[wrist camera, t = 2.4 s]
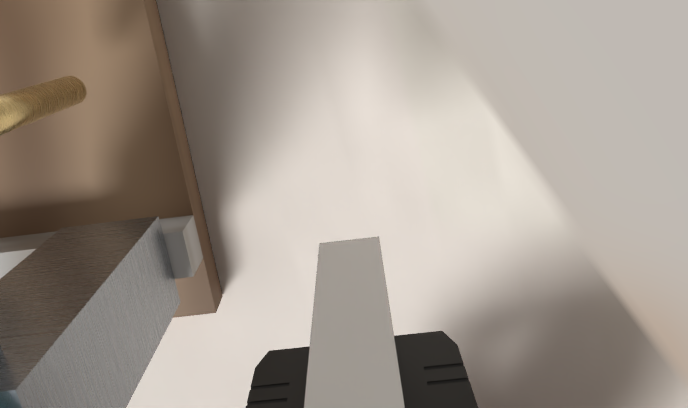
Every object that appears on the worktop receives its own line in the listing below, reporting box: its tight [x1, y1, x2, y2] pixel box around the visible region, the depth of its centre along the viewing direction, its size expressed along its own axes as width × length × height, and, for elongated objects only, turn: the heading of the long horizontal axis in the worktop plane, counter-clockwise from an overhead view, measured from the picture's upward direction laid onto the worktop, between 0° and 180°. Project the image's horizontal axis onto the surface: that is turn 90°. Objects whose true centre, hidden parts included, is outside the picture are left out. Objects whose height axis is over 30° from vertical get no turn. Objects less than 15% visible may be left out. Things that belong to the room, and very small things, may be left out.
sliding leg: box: [0, 76, 180, 408], centre depth 12 cm, size 3×8×9 cm, turn 7°
